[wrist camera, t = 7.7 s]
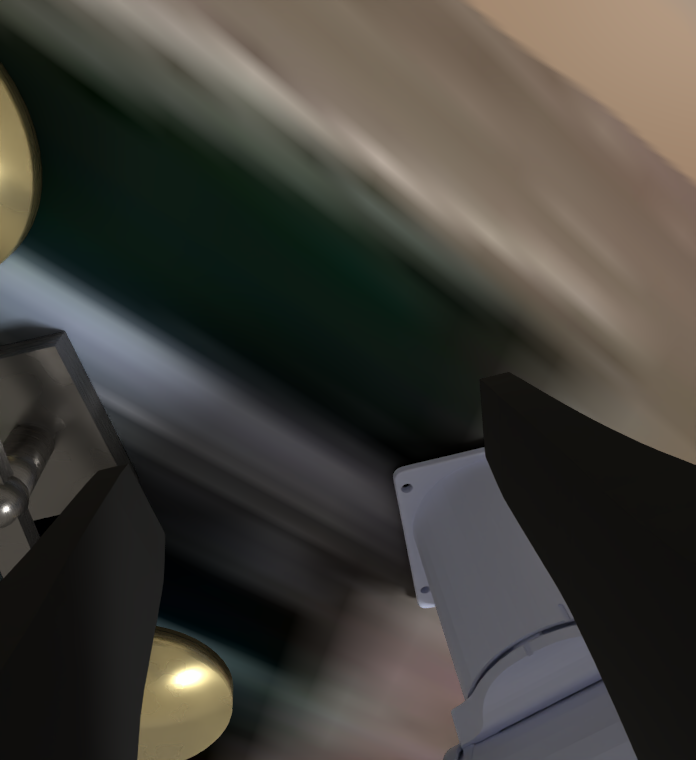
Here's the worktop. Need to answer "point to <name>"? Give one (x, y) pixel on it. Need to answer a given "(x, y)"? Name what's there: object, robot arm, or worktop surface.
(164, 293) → the worktop surface
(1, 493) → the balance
